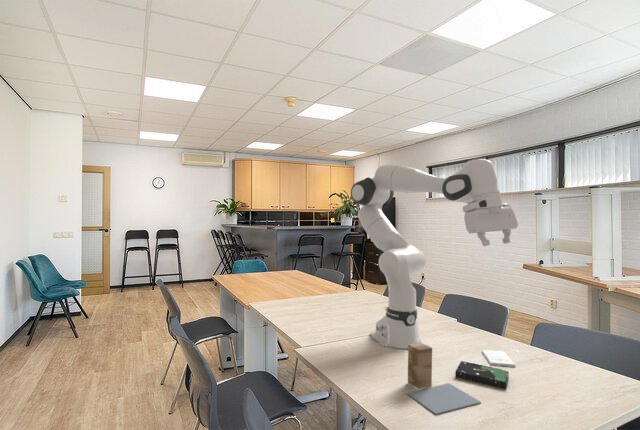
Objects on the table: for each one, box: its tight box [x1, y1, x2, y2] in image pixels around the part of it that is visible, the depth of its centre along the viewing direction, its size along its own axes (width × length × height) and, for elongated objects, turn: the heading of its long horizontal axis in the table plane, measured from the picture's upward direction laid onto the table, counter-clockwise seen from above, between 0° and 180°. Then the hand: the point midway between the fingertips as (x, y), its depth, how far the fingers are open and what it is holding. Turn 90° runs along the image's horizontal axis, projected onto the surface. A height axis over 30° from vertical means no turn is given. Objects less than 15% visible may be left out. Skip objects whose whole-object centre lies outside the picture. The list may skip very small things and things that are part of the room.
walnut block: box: [407, 342, 433, 391], centre depth 109 cm, size 5×5×12 cm
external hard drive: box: [481, 349, 516, 368], centre depth 131 cm, size 2×8×12 cm
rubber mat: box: [406, 383, 482, 416], centre depth 101 cm, size 12×16×1 cm
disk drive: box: [455, 360, 510, 390], centre depth 116 cm, size 10×3×15 cm
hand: (496, 244), depth 119 cm, fingers open, 8 cm apart
